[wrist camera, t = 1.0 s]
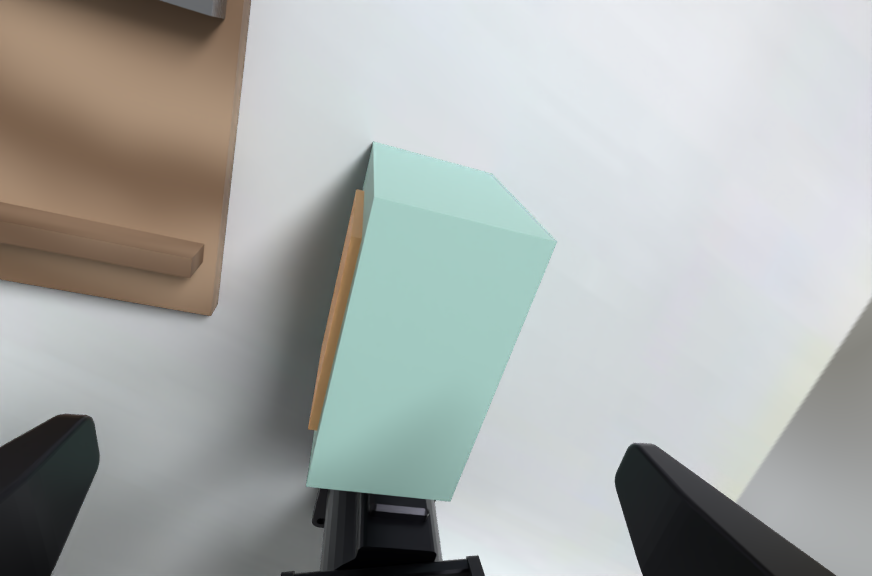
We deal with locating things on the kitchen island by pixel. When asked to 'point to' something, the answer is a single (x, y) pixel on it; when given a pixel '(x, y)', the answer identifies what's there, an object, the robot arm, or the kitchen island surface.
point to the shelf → (118, 147)
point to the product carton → (420, 324)
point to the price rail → (203, 6)
